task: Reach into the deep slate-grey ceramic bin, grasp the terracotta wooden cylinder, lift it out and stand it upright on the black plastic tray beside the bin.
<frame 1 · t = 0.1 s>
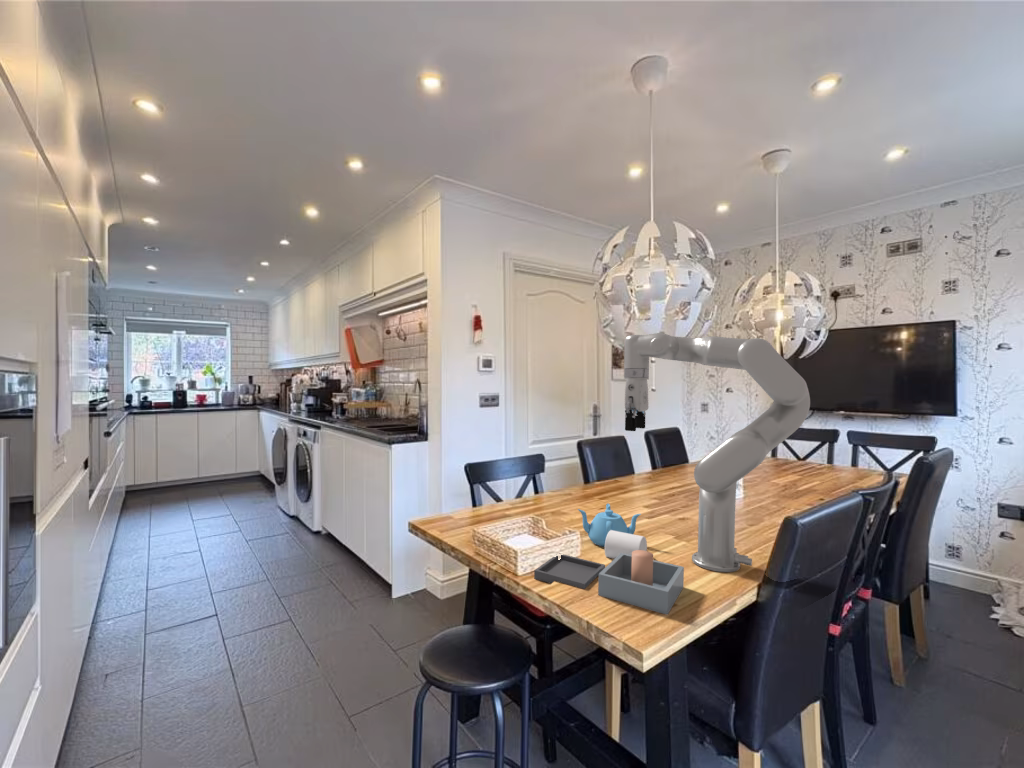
hand: (635, 429, 142), 37 cm above the table, tool pointing down, fingers open, 9 cm apart
cylinder: (641, 590, 110), point 1 cm above the table, touching bin
teapot: (608, 541, 147), on the table
bin: (641, 594, 110), on the table
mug: (627, 559, 132), on the table
tray: (570, 575, 120), on the table
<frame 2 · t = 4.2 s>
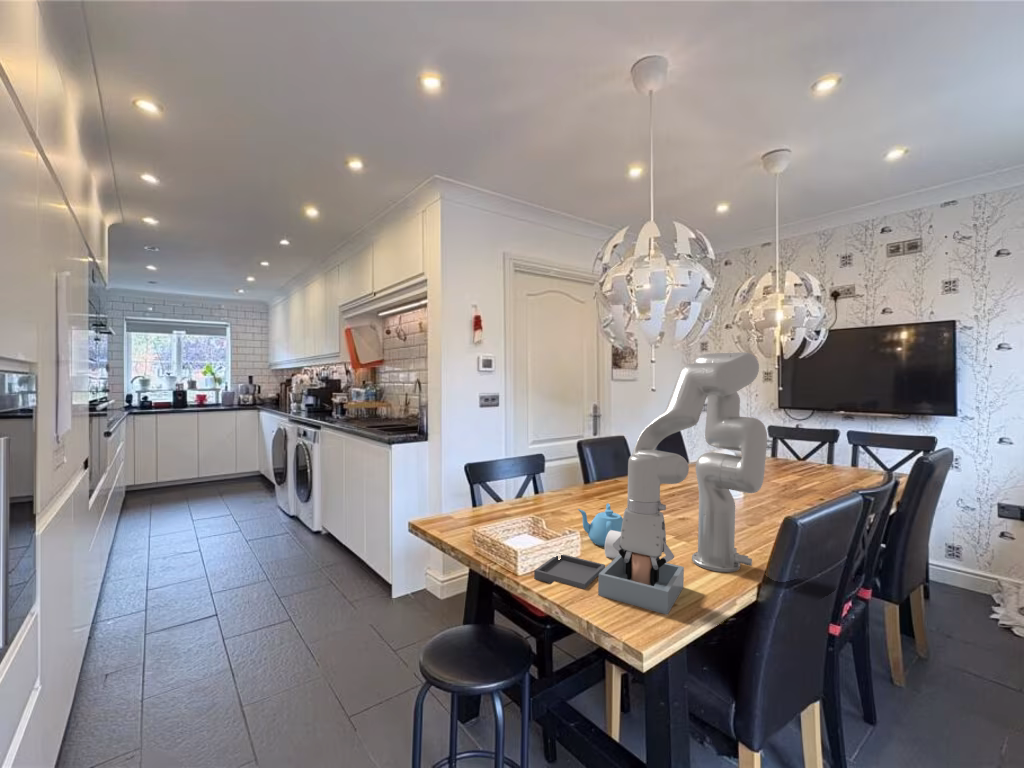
hand: (641, 580, 110), 4 cm above the table, tool pointing down, fingers closed on cylinder, 5 cm apart
cylinder: (641, 590, 110), point 1 cm above the table, touching bin, gripper
everything else where it was.
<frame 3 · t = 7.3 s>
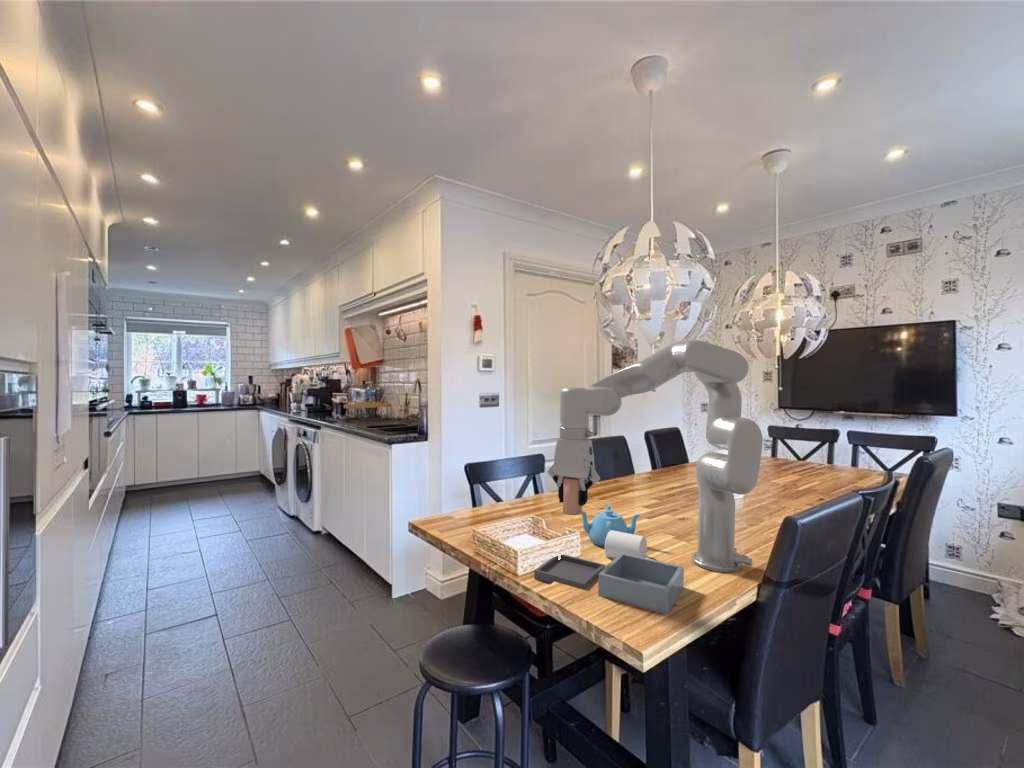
hand: (572, 502, 120), 20 cm above the table, tool pointing down, fingers closed on cylinder, 5 cm apart
cylinder: (572, 512, 120), point 17 cm above the table, touching gripper
everything else where it was.
when the fingers open (4 cm above the table, at t = 10.6 s): cylinder stays where it is, resting on tray.
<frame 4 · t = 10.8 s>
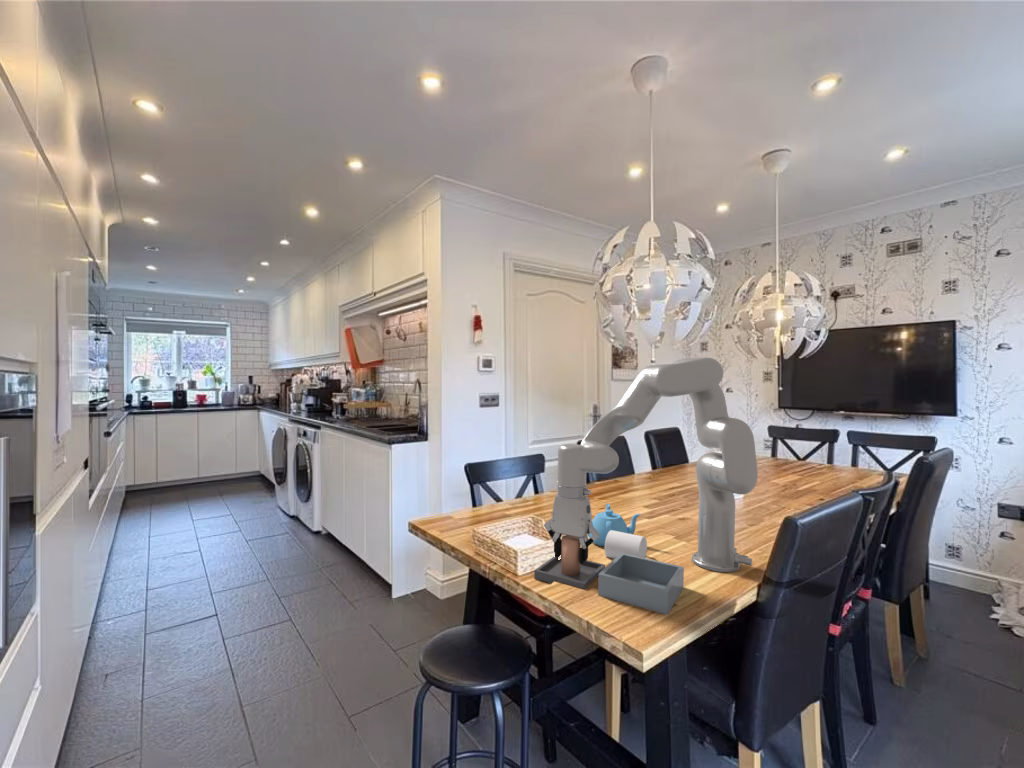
hand: (570, 558, 120), 5 cm above the table, tool pointing down, fingers open, 6 cm apart
cylinder: (570, 571, 120), point 1 cm above the table, touching tray
everything else where it was.
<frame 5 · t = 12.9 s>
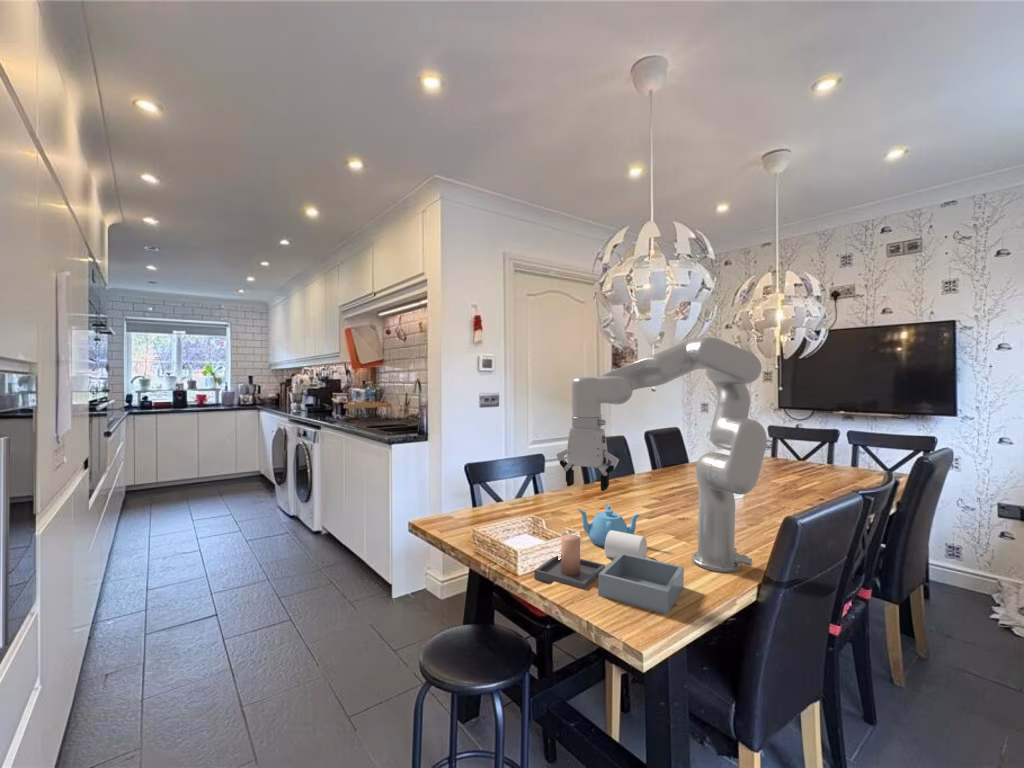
hand: (586, 487, 121), 23 cm above the table, tool pointing down, fingers open, 9 cm apart
nothing on the table moved.
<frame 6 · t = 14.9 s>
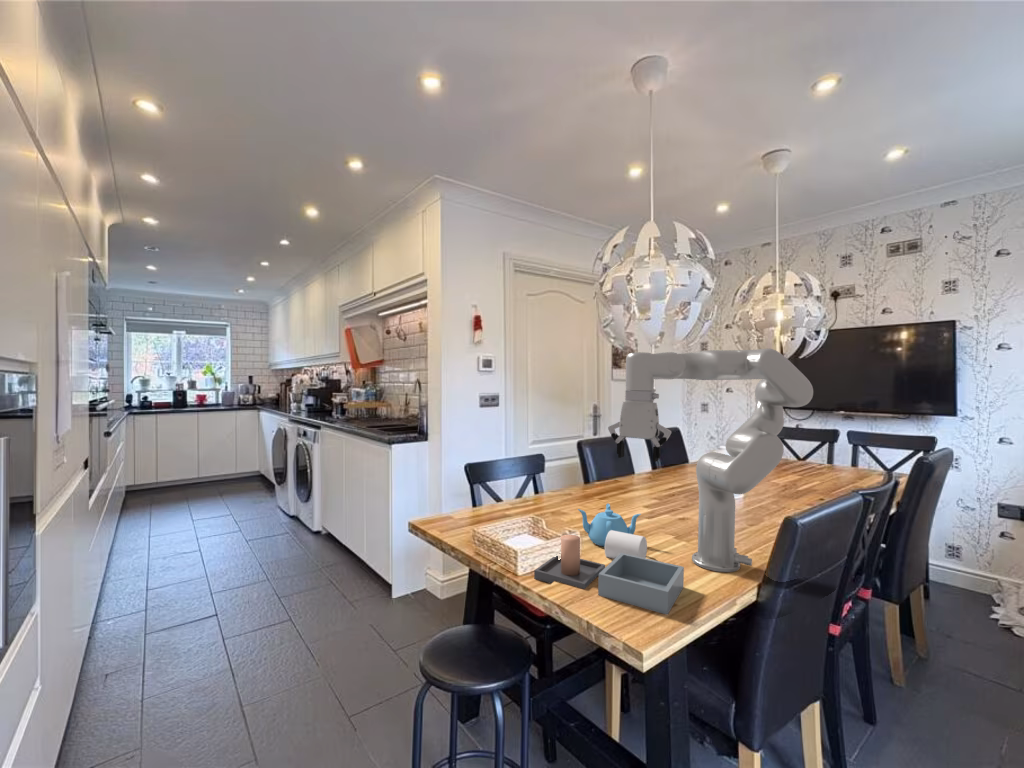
hand: (638, 459, 126), 30 cm above the table, tool pointing down, fingers open, 9 cm apart
nothing on the table moved.
at the end: cylinder inside the target area on the tray (0.1 cm from its centre), point 1.0 cm above the tray's base; cylinder tilted 1°; the gripper is holding nothing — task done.
